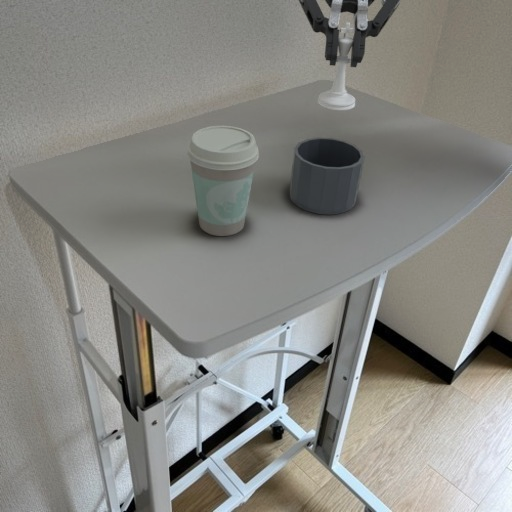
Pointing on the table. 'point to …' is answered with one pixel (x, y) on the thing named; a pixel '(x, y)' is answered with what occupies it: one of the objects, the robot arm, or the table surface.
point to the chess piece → (340, 77)
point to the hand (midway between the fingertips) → (344, 62)
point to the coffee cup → (222, 176)
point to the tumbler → (325, 175)
